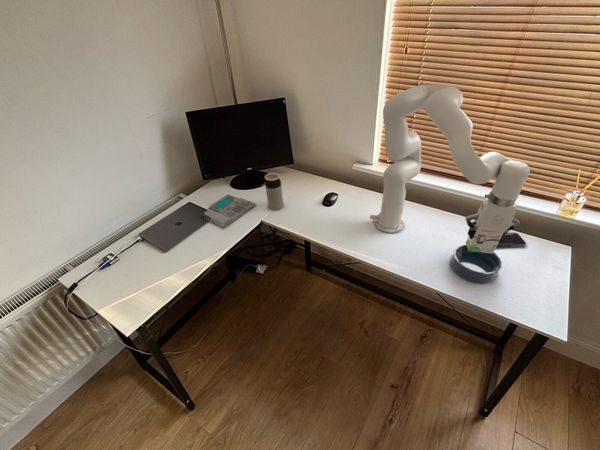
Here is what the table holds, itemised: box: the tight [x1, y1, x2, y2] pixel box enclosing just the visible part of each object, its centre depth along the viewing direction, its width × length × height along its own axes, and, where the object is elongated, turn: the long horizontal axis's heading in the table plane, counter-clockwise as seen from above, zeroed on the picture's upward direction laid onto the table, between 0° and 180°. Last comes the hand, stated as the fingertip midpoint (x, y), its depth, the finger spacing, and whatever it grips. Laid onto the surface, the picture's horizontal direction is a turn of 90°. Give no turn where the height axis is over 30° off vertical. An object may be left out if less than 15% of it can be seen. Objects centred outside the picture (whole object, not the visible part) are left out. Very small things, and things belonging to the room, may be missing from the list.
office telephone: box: [203, 193, 256, 229], centre depth 159 cm, size 23×3×20 cm
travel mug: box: [264, 172, 284, 211], centre depth 155 cm, size 8×8×18 cm
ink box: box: [465, 223, 505, 254], centre depth 110 cm, size 9×5×12 cm, turn 78°
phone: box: [495, 232, 527, 249], centre depth 130 cm, size 8×1×15 cm
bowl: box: [450, 243, 502, 284], centre depth 118 cm, size 16×16×6 cm
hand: (484, 237), depth 110 cm, fingers closed on ink box, 8 cm apart
